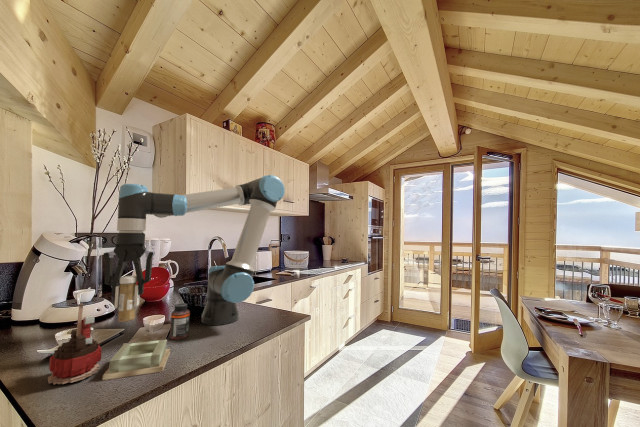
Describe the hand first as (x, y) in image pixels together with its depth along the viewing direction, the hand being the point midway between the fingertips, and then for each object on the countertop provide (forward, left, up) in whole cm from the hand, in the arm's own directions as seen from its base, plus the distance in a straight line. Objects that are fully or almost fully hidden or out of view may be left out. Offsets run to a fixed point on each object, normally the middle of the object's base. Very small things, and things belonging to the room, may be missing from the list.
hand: (127, 306), depth 83 cm
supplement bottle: (-15, -7, -14) cm, 21 cm away
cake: (+7, +14, -14) cm, 21 cm away
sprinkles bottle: (0, 0, -4) cm, 4 cm away
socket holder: (-7, +12, -14) cm, 20 cm away
